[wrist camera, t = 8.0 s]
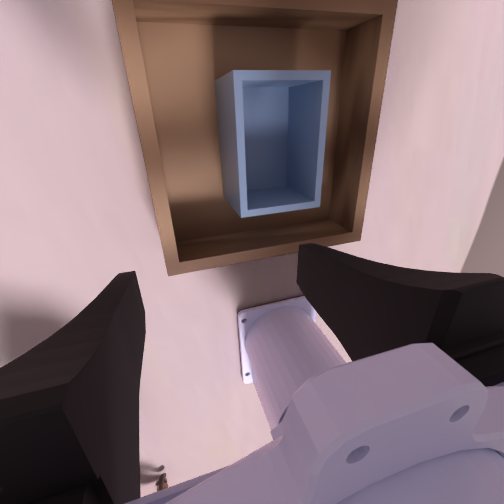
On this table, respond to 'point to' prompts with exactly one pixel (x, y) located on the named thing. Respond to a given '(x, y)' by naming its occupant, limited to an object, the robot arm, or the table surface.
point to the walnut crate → (206, 124)
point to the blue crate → (272, 138)
